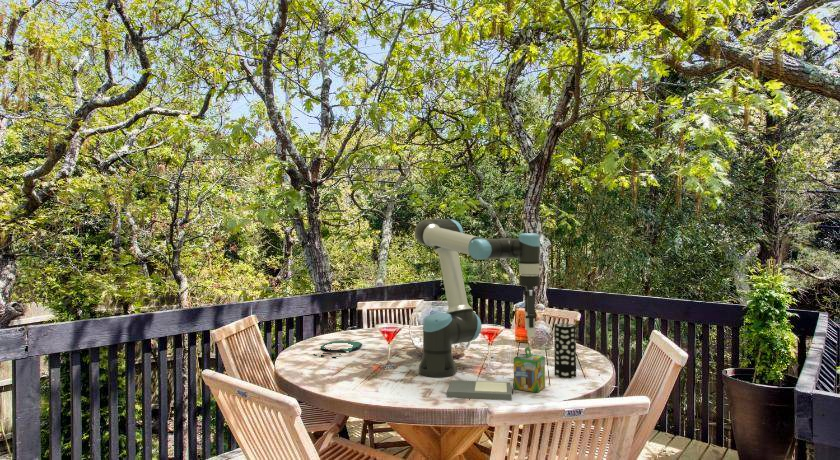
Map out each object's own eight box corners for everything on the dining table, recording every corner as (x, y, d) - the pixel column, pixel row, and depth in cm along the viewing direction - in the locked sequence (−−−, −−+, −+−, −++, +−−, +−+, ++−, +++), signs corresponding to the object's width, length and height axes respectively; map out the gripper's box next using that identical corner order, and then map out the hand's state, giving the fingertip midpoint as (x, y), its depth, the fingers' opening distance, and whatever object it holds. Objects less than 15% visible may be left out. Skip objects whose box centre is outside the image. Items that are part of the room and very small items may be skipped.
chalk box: (537, 393, 181) (537, 351, 181) (513, 389, 186) (513, 348, 186) (546, 386, 189) (545, 346, 189) (522, 383, 193) (522, 344, 194)
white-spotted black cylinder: (564, 379, 198) (564, 327, 198) (550, 374, 205) (549, 324, 206) (580, 376, 202) (580, 326, 202) (565, 371, 209) (565, 322, 209)
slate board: (447, 397, 177) (446, 390, 177) (450, 385, 191) (450, 379, 191) (511, 400, 173) (511, 393, 173) (510, 387, 187) (510, 381, 187)
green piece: (368, 345, 259) (368, 341, 259) (340, 360, 231) (340, 355, 231) (333, 343, 266) (333, 339, 266) (302, 357, 237) (302, 352, 237)
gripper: (542, 278, 175) (543, 340, 174) (537, 272, 199) (537, 327, 199) (520, 277, 176) (521, 339, 175) (517, 272, 200) (518, 326, 200)
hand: (529, 333), depth 187 cm, fingers open, 13 cm apart
